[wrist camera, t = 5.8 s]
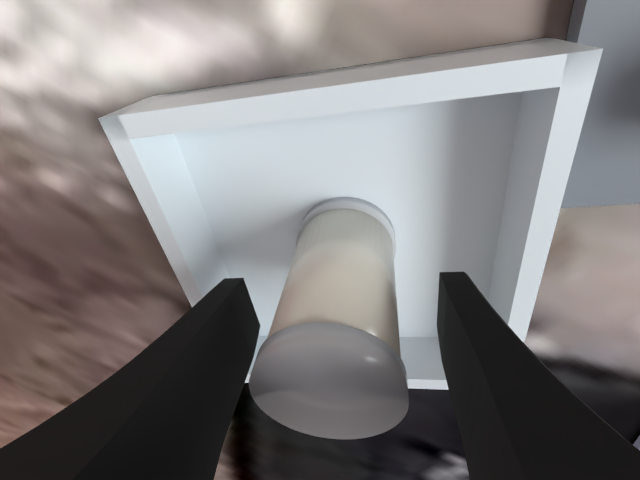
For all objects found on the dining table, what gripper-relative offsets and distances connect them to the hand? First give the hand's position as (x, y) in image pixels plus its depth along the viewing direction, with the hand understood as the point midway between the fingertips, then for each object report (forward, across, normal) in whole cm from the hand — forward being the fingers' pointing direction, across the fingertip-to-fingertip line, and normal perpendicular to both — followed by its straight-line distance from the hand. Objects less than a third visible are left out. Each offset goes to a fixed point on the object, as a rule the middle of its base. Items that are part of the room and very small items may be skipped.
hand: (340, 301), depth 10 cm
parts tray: (+3, 0, 0) cm, 3 cm away
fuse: (+3, 0, 0) cm, 3 cm away
